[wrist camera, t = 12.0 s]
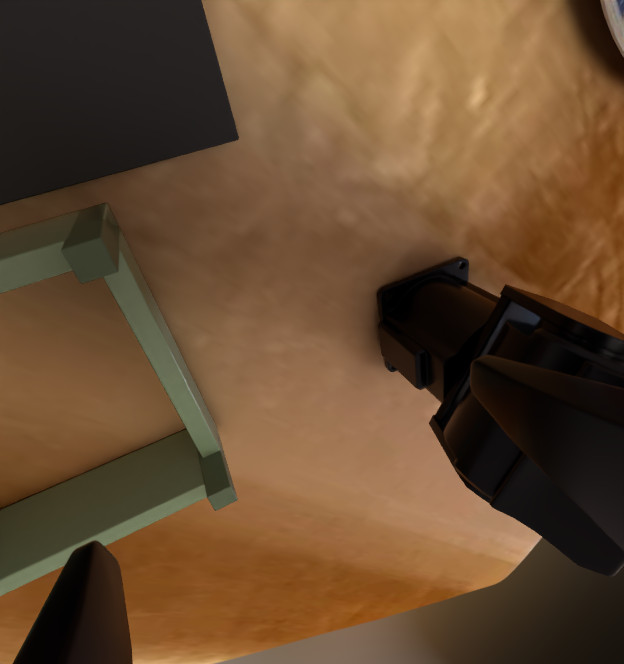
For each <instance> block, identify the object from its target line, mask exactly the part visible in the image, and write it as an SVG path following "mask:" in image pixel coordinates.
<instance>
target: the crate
mask: <svg viewBox="0 0 624 664" xmlns="http://www.w3.org/2000/svg"><path fill="white" fill-rule="evenodd" d="M69 271H73V272H74V273H75V275H76V277H77V279H78V280H79V282H80V283H86V282H89V281H92V280H95V279H98V278H101V277H103V278H104V280H105V282H106V283H107V285H108V287H109V289H110V291H111V292H112V294H113V296H114V298H115V300H116V302H117V303H118V305H119V307H120V309H121V311H122V312H123V314H124V316H125V318H126V320H127V322H128V323H129V325H130V327H131V329H132V331H133V332H134V334H135V336H136V338H137V340H138V342H139V343H140V345H141V347H142V349H143V351H144V352H145V354H146V356H147V358H148V360H149V362H150V363H151V365H152V367H153V369H154V371H155V372H156V374H157V376H158V378H159V380H160V382H161V383H162V385H163V387H164V389H165V391H166V392H167V394H168V396H169V398H170V400H171V402H172V403H173V405H174V407H175V409H176V411H177V412H178V414H179V416H180V418H181V420H182V421H183V423H184V425H185V427H186V429H185V430H183V431H181V432H178V433H176V434H174V435H172V436H169V437H167V438H165V439H162V440H160V441H158V442H155V443H153V444H151V445H148V446H146V447H144V448H142V449H139V450H137V451H135V452H132V453H130V454H128V455H125V456H123V457H121V458H119V459H116V460H114V461H112V462H109V463H107V464H105V465H102V466H100V467H98V468H95V469H93V470H91V471H89V472H86V473H84V474H82V475H79V476H77V477H75V478H72V479H70V480H68V481H65V482H63V483H61V484H59V485H56V486H54V487H52V488H49V489H47V490H45V491H42V492H40V493H38V494H36V495H33V496H31V497H29V498H26V499H24V500H22V501H19V502H17V503H15V504H12V505H10V506H8V507H6V508H3V509H1V510H0V596H1V595H4V594H6V593H8V592H10V591H12V590H14V589H16V588H18V587H20V586H22V585H24V584H26V583H29V582H31V581H33V580H35V579H37V578H39V577H41V576H43V575H45V574H47V573H49V572H52V571H54V570H56V569H58V568H60V567H62V566H64V565H65V564H66V562H67V561H68V559H69V557H70V555H71V554H72V552H73V551H74V550H75V549H77V548H78V547H80V546H83V545H85V544H87V543H89V542H91V541H94V540H96V541H99V542H100V543H101V544H102V545H103V546H106V545H108V544H110V543H112V542H114V541H116V540H118V539H120V538H123V537H125V536H127V535H129V534H131V533H133V532H135V531H137V530H139V529H141V528H143V527H146V526H148V525H150V524H152V523H154V522H156V521H158V520H160V519H162V518H164V517H166V516H168V515H171V514H173V513H175V512H177V511H179V510H181V509H183V508H185V507H187V506H189V505H191V504H194V503H196V502H198V501H200V500H202V499H204V498H206V497H207V498H208V500H209V501H210V503H211V505H212V507H213V508H214V510H215V511H216V510H219V509H221V508H223V507H225V506H227V505H229V504H231V503H233V502H235V501H237V495H236V492H235V489H234V485H233V482H232V478H231V475H230V471H229V468H228V464H227V461H226V458H225V454H224V451H223V447H222V444H221V440H220V437H219V433H218V430H217V427H216V425H215V423H214V421H213V419H212V417H211V415H210V413H209V411H208V409H207V407H206V405H205V403H204V401H203V399H202V396H201V394H200V392H199V390H198V388H197V386H196V384H195V382H194V380H193V378H192V376H191V374H190V372H189V370H188V368H187V366H186V364H185V362H184V359H183V357H182V355H181V353H180V351H179V349H178V347H177V345H176V343H175V341H174V339H173V337H172V335H171V333H170V331H169V329H168V327H167V324H166V322H165V320H164V318H163V316H162V314H161V312H160V310H159V308H158V306H157V304H156V302H155V300H154V298H153V296H152V294H151V292H150V289H149V287H148V285H147V283H146V281H145V279H144V277H143V275H142V273H141V271H140V269H139V267H138V265H137V263H136V261H135V259H134V257H133V255H132V252H131V250H130V248H129V246H128V244H127V242H126V240H125V238H124V236H123V234H122V232H121V230H120V228H119V226H118V224H117V222H116V220H115V217H114V215H113V213H112V211H111V209H110V207H109V205H108V203H103V204H99V205H96V206H93V207H89V208H86V209H82V210H79V211H76V212H72V213H69V214H65V215H62V216H58V217H55V218H51V219H48V220H45V221H41V222H38V223H34V224H31V225H27V226H24V227H20V228H17V229H13V230H10V231H6V232H3V233H0V294H1V293H4V292H7V291H10V290H13V289H16V288H20V287H23V286H26V285H29V284H32V283H35V282H38V281H41V280H45V279H48V278H51V277H54V276H57V275H60V274H63V273H66V272H69Z"/></svg>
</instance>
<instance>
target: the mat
mask: <svg viewBox="0 0 624 664" xmlns="http://www.w3.org/2000/svg"><path fill="white" fill-rule="evenodd" d="M238 139H239V136H238V133H237V129H236V126H235V122H234V118H233V115H232V111H231V107H230V104H229V100H228V96H227V93H226V89H225V85H224V82H223V78H222V74H221V71H220V67H219V63H218V60H217V56H216V52H215V49H214V45H213V41H212V38H211V34H210V30H209V27H208V23H207V20H206V16H205V12H204V9H203V5H202V1H201V0H0V205H2V204H6V203H9V202H13V201H17V200H20V199H24V198H28V197H31V196H35V195H39V194H42V193H46V192H50V191H53V190H57V189H61V188H64V187H68V186H71V185H75V184H79V183H82V182H86V181H90V180H93V179H97V178H101V177H104V176H108V175H112V174H115V173H119V172H122V171H126V170H130V169H133V168H137V167H141V166H144V165H148V164H152V163H155V162H159V161H163V160H166V159H170V158H174V157H177V156H181V155H184V154H188V153H192V152H195V151H199V150H203V149H206V148H210V147H214V146H217V145H221V144H225V143H228V142H232V141H235V140H238Z"/></svg>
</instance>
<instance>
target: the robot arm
mask: <svg viewBox="0 0 624 664" xmlns="http://www.w3.org/2000/svg"><path fill="white" fill-rule="evenodd" d="M460 264H461V265H460ZM459 265H460V267H459ZM468 270H469V262H468V260H467V259H465V258H463V257H457V258H455V259H452V260H449V261H447V262H444V263H442V264H439V265H437V266H434V267H432V268H429V269H427V270H424V271H422V272H419V273H417V274H414V275H412V276H409V277H407V278H404V279H402V280H399V281H397V282H394V283H391V284H389V285H386V286H384V287H382V288H381V289H380V290H379V291H378V293H377V300H378V309H379V317H380V322H379V325H378V329H379V337H380V345H381V353H382V356H383V357H384V360H385V366H386V368H387V369H388V370H389V371H390V372H395V371H397V370H398V371H399V372H400V373H401V374H402V375H403V376H404V377H405V378H406V379H407V380H408V381H409V382H410V383H411V384H412V385H413V386H414V387H415V388H417V389H419V390H422V389H424V388H426V389H427V390H428V391H429V392H430V393H431V394H433V395H434V396H435V397H436V398H437V399H438V400H439V401H440V402H441V403H442V404H441V405H440V407H439V409H438V411H437V413H436V414H435V415H433V416H432V418H431V420H430V422H429V424H430V426H431V428H432V430H433V432H434V433H435V435H436V437H437V439H438V440H439V442H440V444H441V446H442V447H443V449H444V451H445V453H446V454H447V456H448V458H449V460H450V462H451V463H452V465H453V467H454V469H455V470H456V472H457V474H458V475H459V477H460V478H461V480H462V481H463V482H464V484H465V485H466V487H467V488H469V489H470V490H472V491H473V492H474V493H475V494H477V495H478V496H479V497H481V498H482V499H484V500H485V501H487V502H488V503H489V504H490V505H491V506H492V507H493V508H494V509H496V510H498V511H500V512H502V513H505V514H507V515H509V516H511V517H513V518H515V519H516V520H518V521H520V522H521V523H523V524H524V525H526V526H527V527H529V528H531V529H532V530H534V531H535V532H537V533H538V534H539V535H541V536H542V537H543V538H544V539H546V540H547V541H548V542H550V543H551V544H552V545H553V546H555V547H556V548H557V549H558V550H560V551H561V552H562V553H563V554H565V555H566V556H567V557H569V558H570V559H571V560H572V561H573V562H574V563H576V564H577V565H579V566H581V567H584V568H587V569H589V570H592V571H595V572H598V573H601V574H603V575H606V576H614V575H615V574H616V573H617V572H618V571H619V570H620V569H621V568H622V567H623V565H624V334H623V333H621V332H619V331H618V330H616V329H614V328H613V327H611V326H609V325H608V324H606V323H604V322H602V321H601V320H599V319H597V318H595V317H593V316H590V315H588V314H586V313H583V312H581V311H578V310H576V309H574V308H571V307H569V306H567V305H564V304H562V303H560V302H557V301H555V300H552V299H549V298H546V297H542V296H539V295H536V294H533V293H530V292H527V291H524V290H521V289H518V288H515V287H512V286H509V285H506V284H505V286H504V288H503V290H502V291H501V293H500V294H501V297H500V298H499V297H497V296H495V295H493V294H491V293H489V292H487V291H485V290H483V289H481V288H479V287H477V286H475V285H473V284H471V283H469V282H468ZM386 293H388V294H387V296H386V297H385V298H384V295H385V294H386ZM13 664H133V663H132V648H131V639H130V632H129V625H128V618H127V611H126V604H125V597H124V590H123V583H122V577H121V570H120V566H119V563H118V561H117V560H116V558H115V557H114V556H113V555H112V554H111V553H110V552H109V551H108V550H107V549H106V548H105V547H104V546H103V545H102V544H101V543H100V542H99V541H96V540H94V541H91V542H89V543H87V544H85V545H83V546H80V547H78V548H77V549H75V550H74V551H73V552H72V554H71V555H70V557H69V559H68V561H67V562H66V564H65V566H64V568H63V570H62V572H61V574H60V576H59V578H58V579H57V581H56V583H55V585H54V587H53V589H52V591H51V593H50V594H49V596H48V598H47V600H46V602H45V604H44V606H43V608H42V609H41V611H40V613H39V615H38V617H37V619H36V621H35V623H34V625H33V626H32V628H31V630H30V632H29V634H28V636H27V638H26V640H25V641H24V643H23V645H22V647H21V649H20V651H19V653H18V655H17V657H16V658H15V660H14V662H13Z"/></svg>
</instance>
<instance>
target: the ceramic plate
mask: <svg viewBox="0 0 624 664" xmlns="http://www.w3.org/2000/svg"><path fill="white" fill-rule="evenodd" d="M600 1H601V5H602V9H603V13H604V16H605V19H606V21H607V24H608V26H609V29H610V32H611V34H612V37H613V39H614V41H615V43H616V45H617V47H618V48H619V50H620V52H621V54H622V55H623V57H624V0H600Z"/></svg>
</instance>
